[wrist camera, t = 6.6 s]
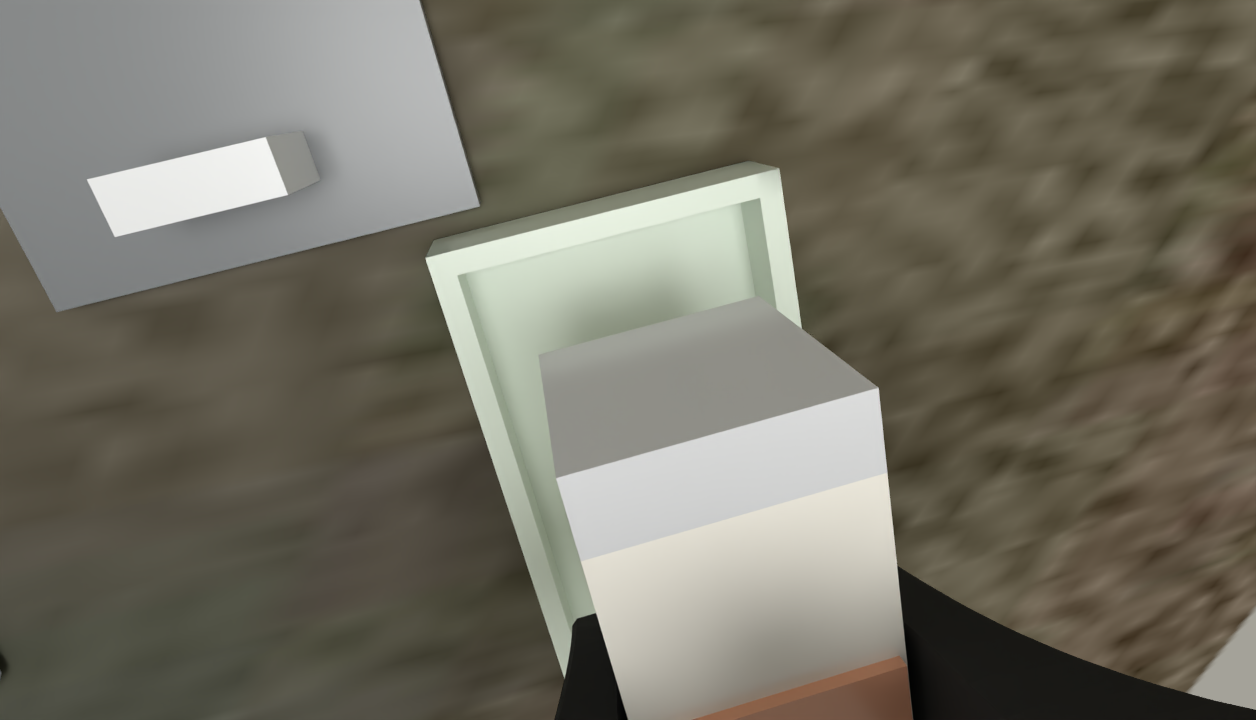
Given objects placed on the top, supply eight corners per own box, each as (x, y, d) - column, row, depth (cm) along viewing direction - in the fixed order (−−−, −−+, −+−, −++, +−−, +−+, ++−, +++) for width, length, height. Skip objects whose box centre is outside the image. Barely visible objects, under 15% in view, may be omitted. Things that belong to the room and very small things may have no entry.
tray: (581, 695, 22) (588, 751, 20) (433, 240, 17) (425, 257, 15) (820, 622, 22) (850, 670, 20) (748, 160, 17) (779, 168, 15)
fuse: (659, 777, 16) (716, 1017, 12) (538, 354, 13) (557, 486, 8) (828, 724, 17) (941, 940, 12) (758, 295, 13) (886, 393, 9)
